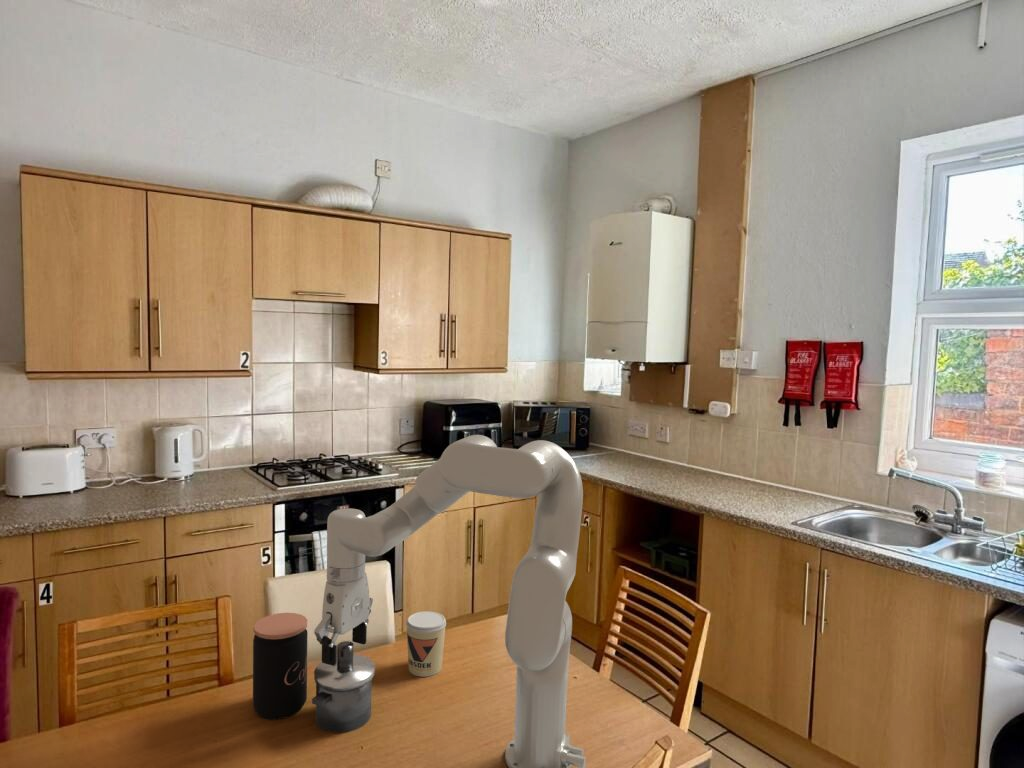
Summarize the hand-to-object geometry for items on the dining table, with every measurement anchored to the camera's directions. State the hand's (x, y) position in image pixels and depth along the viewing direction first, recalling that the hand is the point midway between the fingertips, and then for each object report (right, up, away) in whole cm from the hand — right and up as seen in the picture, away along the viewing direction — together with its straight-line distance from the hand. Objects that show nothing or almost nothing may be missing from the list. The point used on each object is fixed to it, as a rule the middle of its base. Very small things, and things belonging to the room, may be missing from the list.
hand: (344, 652), depth 131 cm
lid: (0, -5, 0) cm, 4 cm away
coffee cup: (+14, -13, +21) cm, 28 cm away
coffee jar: (-15, -13, +4) cm, 20 cm away
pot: (0, -13, +1) cm, 13 cm away
